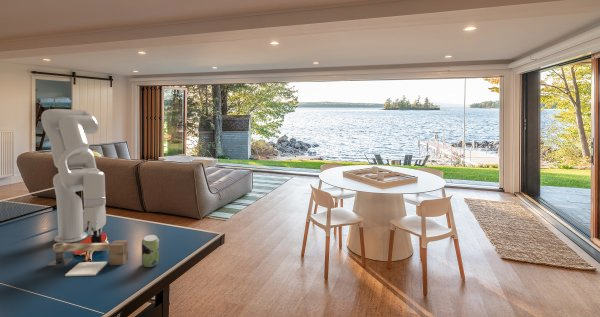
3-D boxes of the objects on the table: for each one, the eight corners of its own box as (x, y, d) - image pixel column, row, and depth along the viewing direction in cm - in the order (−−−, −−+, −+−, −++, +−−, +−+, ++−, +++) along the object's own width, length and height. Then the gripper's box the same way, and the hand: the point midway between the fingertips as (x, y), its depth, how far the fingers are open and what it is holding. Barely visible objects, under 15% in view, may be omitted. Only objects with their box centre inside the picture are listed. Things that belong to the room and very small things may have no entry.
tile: (79, 263, 127) (79, 262, 127) (107, 263, 128) (107, 261, 128) (65, 276, 117) (65, 274, 117) (95, 275, 119) (95, 273, 118)
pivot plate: (56, 259, 130) (56, 258, 130) (72, 258, 131) (72, 258, 131) (47, 265, 124) (47, 265, 124) (64, 265, 125) (64, 264, 125)
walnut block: (115, 259, 132) (114, 240, 131) (128, 259, 133) (127, 240, 132) (109, 264, 127) (109, 245, 126) (123, 264, 128) (122, 245, 127)
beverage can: (155, 260, 133) (154, 231, 131) (162, 266, 128) (161, 236, 126) (138, 264, 128) (138, 235, 127) (145, 271, 123) (145, 240, 122)
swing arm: (51, 262, 125) (50, 246, 125) (57, 258, 129) (56, 242, 128) (107, 261, 128) (106, 245, 127) (111, 257, 132) (111, 241, 131)
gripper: (93, 197, 139) (95, 238, 141) (74, 206, 124) (77, 252, 126) (112, 197, 140) (114, 238, 142) (96, 206, 125) (97, 252, 127)
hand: (96, 244), depth 134 cm, fingers closed
